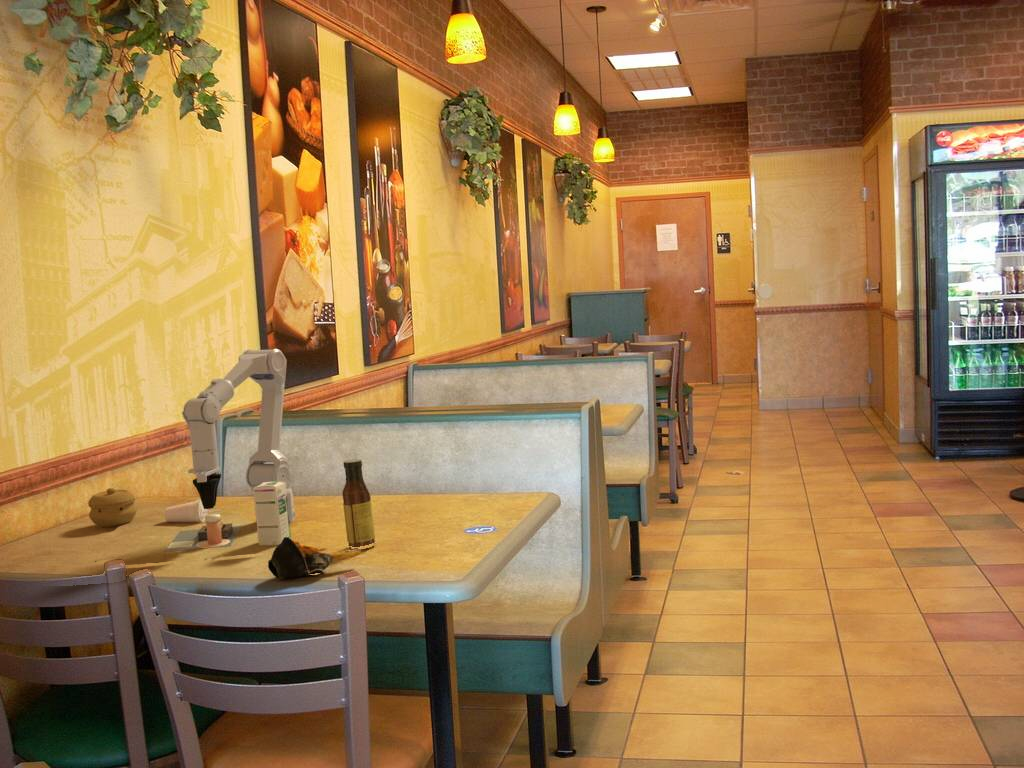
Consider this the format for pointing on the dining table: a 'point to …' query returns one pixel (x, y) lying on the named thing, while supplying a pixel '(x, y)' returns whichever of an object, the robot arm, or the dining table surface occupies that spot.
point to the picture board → (190, 541)
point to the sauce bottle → (357, 506)
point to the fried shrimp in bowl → (303, 559)
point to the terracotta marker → (213, 529)
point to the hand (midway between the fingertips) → (209, 507)
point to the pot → (112, 508)
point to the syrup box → (271, 512)
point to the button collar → (225, 532)
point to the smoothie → (187, 512)
